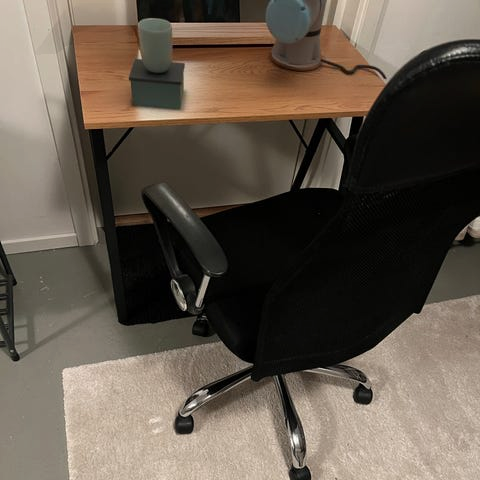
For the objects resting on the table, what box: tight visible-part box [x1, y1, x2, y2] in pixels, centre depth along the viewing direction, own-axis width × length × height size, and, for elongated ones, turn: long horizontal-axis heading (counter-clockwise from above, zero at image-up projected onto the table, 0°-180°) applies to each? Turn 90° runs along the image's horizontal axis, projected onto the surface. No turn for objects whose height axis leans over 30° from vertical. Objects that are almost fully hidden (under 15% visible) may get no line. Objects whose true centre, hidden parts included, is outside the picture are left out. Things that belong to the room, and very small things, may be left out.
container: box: [128, 58, 186, 110], centre depth 117 cm, size 13×11×7 cm
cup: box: [137, 17, 174, 73], centre depth 111 cm, size 8×8×10 cm
